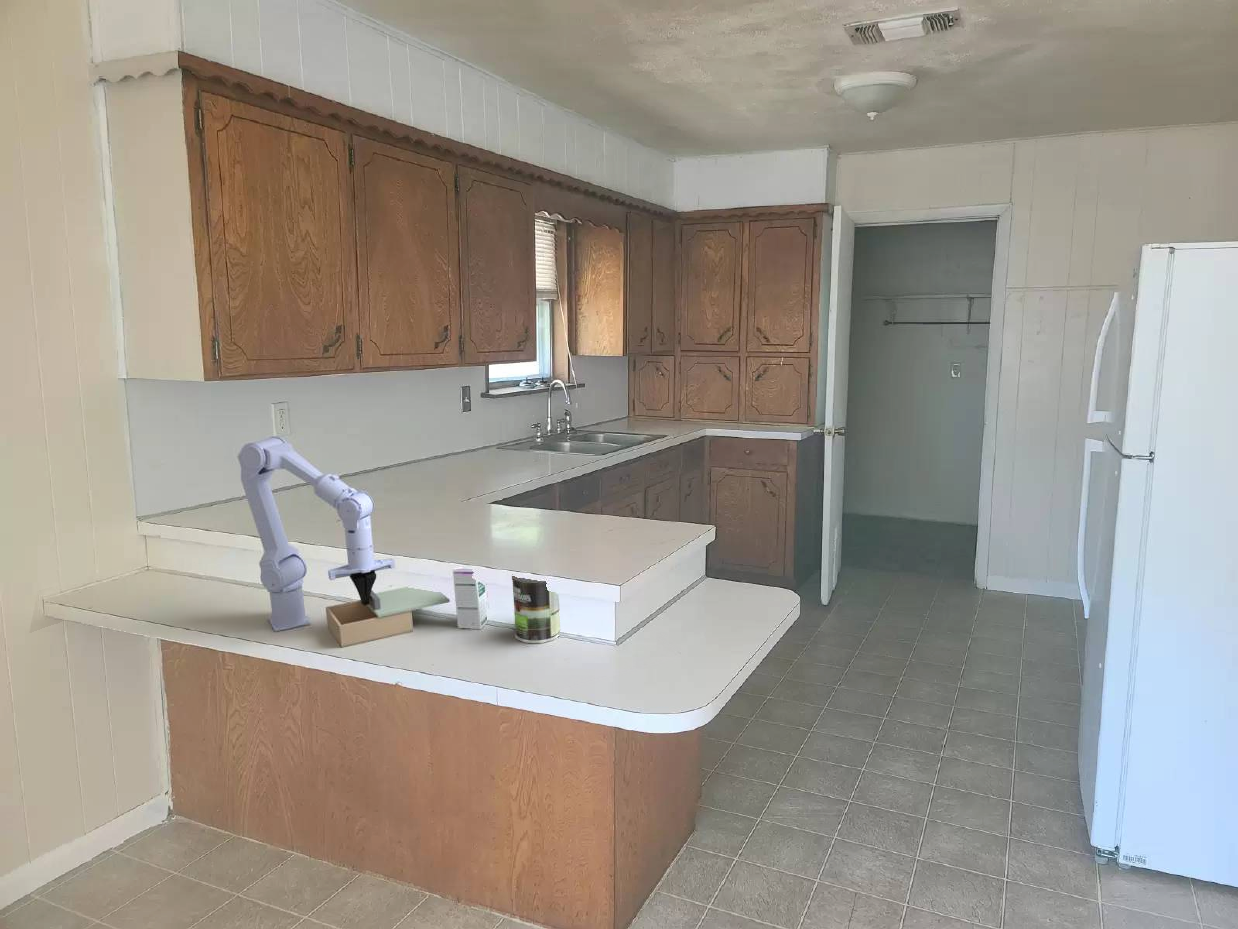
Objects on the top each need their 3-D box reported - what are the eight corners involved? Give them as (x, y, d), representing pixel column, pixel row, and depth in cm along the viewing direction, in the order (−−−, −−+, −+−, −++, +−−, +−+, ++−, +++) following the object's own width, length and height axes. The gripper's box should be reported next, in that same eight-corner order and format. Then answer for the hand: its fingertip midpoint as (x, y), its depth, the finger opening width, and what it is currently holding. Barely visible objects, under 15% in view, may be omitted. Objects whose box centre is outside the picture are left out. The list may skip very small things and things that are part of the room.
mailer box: (327, 627, 204) (325, 607, 203) (395, 612, 211) (393, 593, 210) (341, 647, 192) (339, 626, 191) (413, 631, 200) (411, 610, 199)
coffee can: (532, 647, 188) (528, 585, 186) (506, 634, 196) (502, 574, 193) (570, 634, 195) (567, 574, 192) (544, 622, 203) (540, 564, 200)
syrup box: (481, 630, 199) (477, 569, 196) (456, 628, 200) (452, 568, 197) (489, 620, 205) (485, 561, 202) (465, 619, 206) (461, 560, 203)
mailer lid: (361, 598, 207) (360, 586, 206) (429, 584, 215) (428, 572, 214) (378, 617, 195) (377, 604, 194) (449, 602, 203) (448, 589, 202)
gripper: (330, 556, 190) (337, 615, 193) (396, 545, 197) (401, 602, 200) (323, 548, 196) (329, 606, 199) (387, 537, 203) (392, 593, 206)
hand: (365, 603), depth 200 cm, fingers closed
